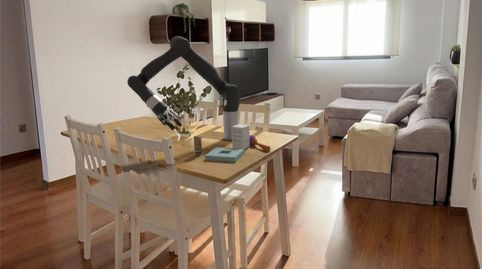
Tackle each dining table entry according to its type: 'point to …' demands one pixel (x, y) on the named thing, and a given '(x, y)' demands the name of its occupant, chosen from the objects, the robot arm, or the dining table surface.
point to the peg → (197, 145)
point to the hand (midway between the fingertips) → (177, 127)
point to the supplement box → (240, 136)
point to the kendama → (254, 142)
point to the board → (224, 154)
